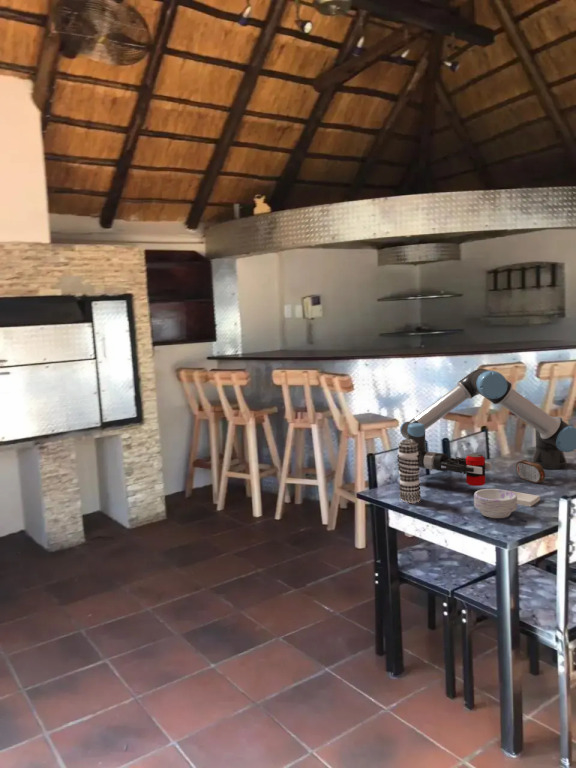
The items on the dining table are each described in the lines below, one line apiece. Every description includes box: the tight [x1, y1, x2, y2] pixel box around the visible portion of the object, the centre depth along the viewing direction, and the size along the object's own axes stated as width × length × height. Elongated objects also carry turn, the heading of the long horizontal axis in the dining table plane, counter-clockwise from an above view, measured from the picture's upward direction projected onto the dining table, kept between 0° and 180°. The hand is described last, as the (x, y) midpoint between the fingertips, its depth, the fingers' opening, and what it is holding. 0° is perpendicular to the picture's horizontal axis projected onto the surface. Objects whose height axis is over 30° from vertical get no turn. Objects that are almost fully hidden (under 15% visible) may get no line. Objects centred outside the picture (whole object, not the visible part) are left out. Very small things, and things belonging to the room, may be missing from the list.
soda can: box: [465, 453, 486, 487], centre depth 253 cm, size 8×8×12 cm
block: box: [509, 490, 541, 507], centre depth 242 cm, size 2×9×13 cm
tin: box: [515, 459, 546, 484], centre depth 266 cm, size 15×3×8 cm, turn 22°
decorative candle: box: [396, 438, 422, 504], centre depth 248 cm, size 9×9×25 cm
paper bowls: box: [473, 488, 518, 519], centre depth 227 cm, size 15×15×8 cm
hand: (486, 468), depth 249 cm, fingers closed on soda can, 7 cm apart
